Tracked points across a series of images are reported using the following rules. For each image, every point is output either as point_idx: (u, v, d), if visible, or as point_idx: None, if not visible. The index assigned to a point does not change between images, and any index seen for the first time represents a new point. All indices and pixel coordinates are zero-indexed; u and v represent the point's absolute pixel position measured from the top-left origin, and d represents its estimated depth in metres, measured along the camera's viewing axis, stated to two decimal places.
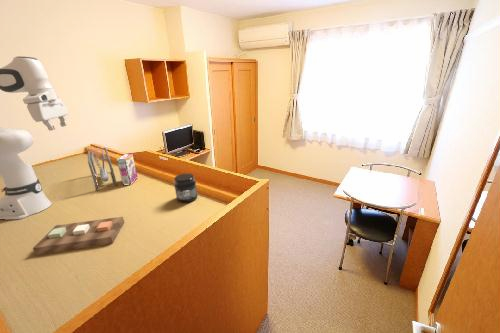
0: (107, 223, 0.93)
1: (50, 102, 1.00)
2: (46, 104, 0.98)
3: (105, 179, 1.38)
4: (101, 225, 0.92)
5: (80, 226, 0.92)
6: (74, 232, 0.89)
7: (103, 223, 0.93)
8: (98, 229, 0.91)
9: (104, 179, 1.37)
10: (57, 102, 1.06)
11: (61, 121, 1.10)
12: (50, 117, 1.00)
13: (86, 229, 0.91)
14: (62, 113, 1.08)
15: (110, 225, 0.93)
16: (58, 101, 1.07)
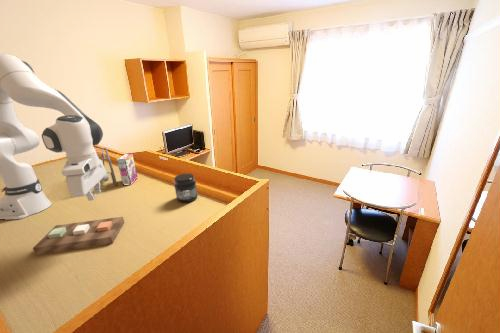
0: (107, 223, 0.93)
1: (91, 169, 0.83)
2: (87, 174, 0.80)
3: (105, 179, 1.38)
4: (101, 225, 0.92)
5: (80, 226, 0.92)
6: (74, 232, 0.89)
7: (103, 223, 0.93)
8: (98, 229, 0.91)
9: (104, 179, 1.37)
10: None
11: (95, 187, 0.90)
12: (90, 188, 0.82)
13: (86, 229, 0.91)
14: (100, 177, 0.90)
15: (110, 225, 0.93)
16: None
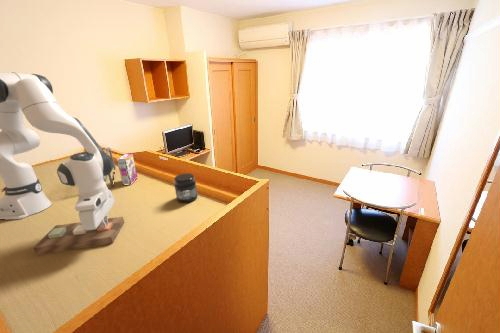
0: (107, 225, 0.93)
1: (102, 202, 0.87)
2: (98, 207, 0.85)
3: None
4: None
5: (80, 226, 0.92)
6: (74, 232, 0.89)
7: None
8: (99, 231, 0.91)
9: None
10: None
11: (103, 219, 0.93)
12: (101, 220, 0.86)
13: None
14: (110, 207, 0.95)
15: (110, 227, 0.94)
16: None
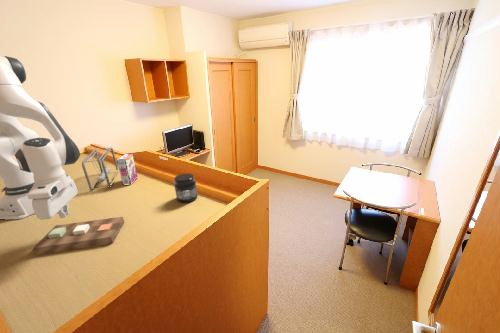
0: (108, 225, 0.93)
1: (60, 191, 0.83)
2: (55, 196, 0.81)
3: (101, 180, 1.37)
4: (102, 227, 0.92)
5: (80, 226, 0.92)
6: (74, 232, 0.89)
7: (104, 225, 0.93)
8: (99, 231, 0.91)
9: (100, 180, 1.36)
10: None
11: (63, 209, 0.89)
12: (58, 210, 0.83)
13: (86, 229, 0.91)
14: (71, 196, 0.91)
15: None
16: None
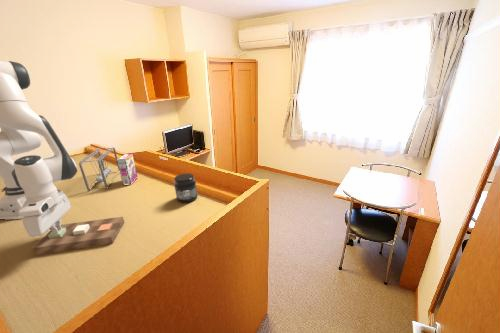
0: (108, 225, 0.93)
1: (51, 207, 0.84)
2: (46, 212, 0.82)
3: (99, 180, 1.36)
4: (102, 227, 0.92)
5: (80, 226, 0.92)
6: (74, 232, 0.89)
7: (104, 225, 0.93)
8: (99, 231, 0.91)
9: (98, 180, 1.36)
10: None
11: (55, 224, 0.90)
12: (49, 226, 0.83)
13: (86, 229, 0.91)
14: (64, 211, 0.92)
15: None
16: (60, 198, 0.91)
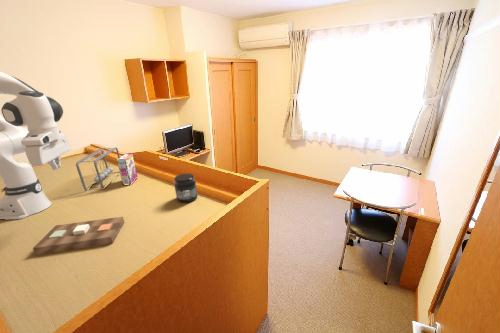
0: (108, 225, 0.93)
1: (52, 142, 0.90)
2: (47, 146, 0.87)
3: (97, 180, 1.36)
4: (102, 227, 0.92)
5: (80, 226, 0.92)
6: (74, 232, 0.89)
7: (104, 225, 0.93)
8: (99, 231, 0.91)
9: (96, 180, 1.36)
10: (59, 139, 0.95)
11: (55, 162, 0.95)
12: (50, 159, 0.89)
13: (86, 229, 0.91)
14: (63, 151, 0.97)
15: None
16: (60, 138, 0.96)
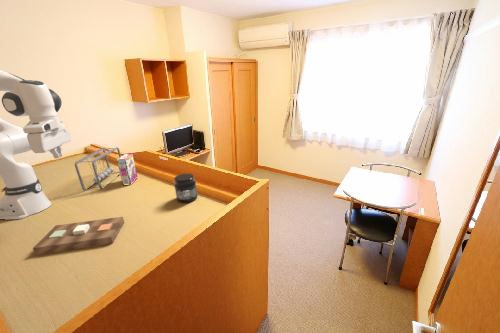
0: (108, 225, 0.93)
1: (53, 130, 0.91)
2: (48, 133, 0.89)
3: (95, 181, 1.36)
4: (102, 227, 0.92)
5: (80, 226, 0.92)
6: (74, 232, 0.89)
7: (104, 225, 0.93)
8: (99, 231, 0.91)
9: (95, 180, 1.36)
10: (60, 129, 0.97)
11: (57, 151, 0.97)
12: (51, 147, 0.90)
13: (86, 229, 0.91)
14: (64, 140, 0.99)
15: None
16: (61, 127, 0.98)
